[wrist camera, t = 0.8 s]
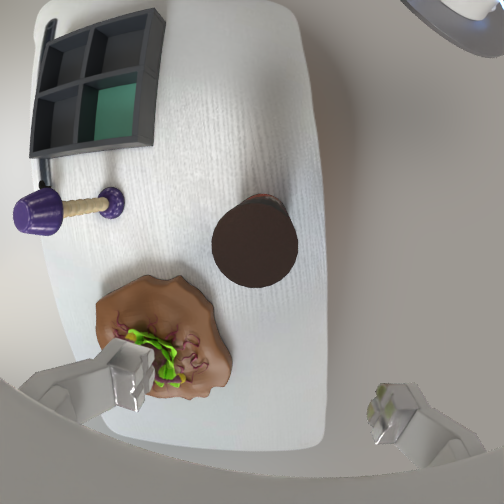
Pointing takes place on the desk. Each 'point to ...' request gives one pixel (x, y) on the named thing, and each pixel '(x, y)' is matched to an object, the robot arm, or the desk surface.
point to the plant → (168, 334)
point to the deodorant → (255, 242)
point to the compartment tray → (99, 87)
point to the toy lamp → (61, 209)
